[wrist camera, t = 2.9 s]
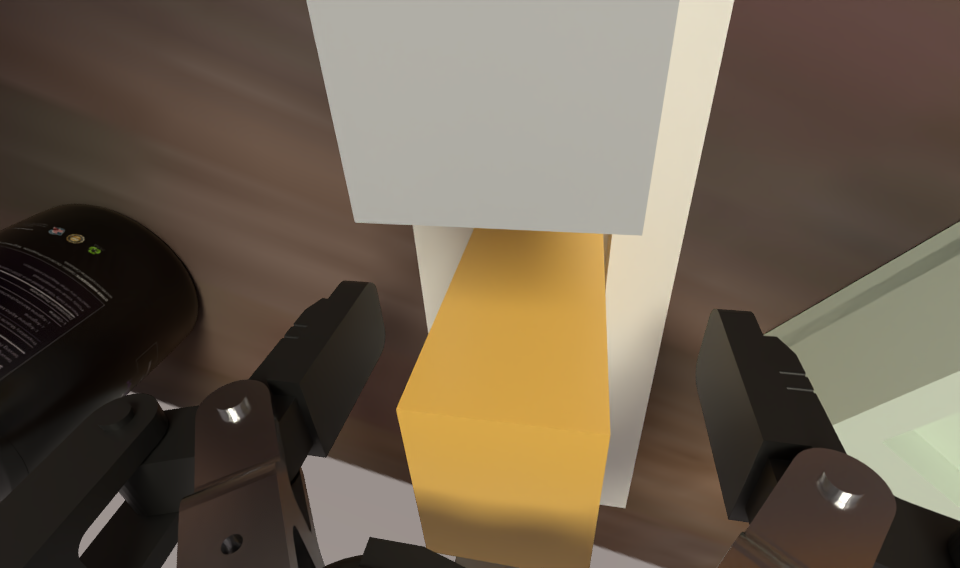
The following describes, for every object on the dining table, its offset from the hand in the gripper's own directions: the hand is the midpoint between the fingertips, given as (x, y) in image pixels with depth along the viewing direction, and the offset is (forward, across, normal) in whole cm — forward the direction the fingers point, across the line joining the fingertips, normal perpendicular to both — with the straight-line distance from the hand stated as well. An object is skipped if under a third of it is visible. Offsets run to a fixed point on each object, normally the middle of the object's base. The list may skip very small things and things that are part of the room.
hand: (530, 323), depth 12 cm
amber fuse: (+3, 0, 0) cm, 3 cm away
